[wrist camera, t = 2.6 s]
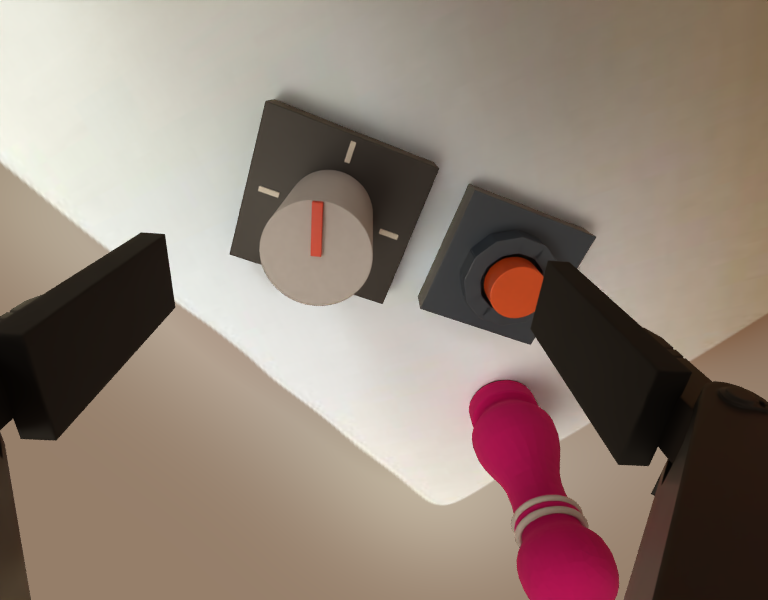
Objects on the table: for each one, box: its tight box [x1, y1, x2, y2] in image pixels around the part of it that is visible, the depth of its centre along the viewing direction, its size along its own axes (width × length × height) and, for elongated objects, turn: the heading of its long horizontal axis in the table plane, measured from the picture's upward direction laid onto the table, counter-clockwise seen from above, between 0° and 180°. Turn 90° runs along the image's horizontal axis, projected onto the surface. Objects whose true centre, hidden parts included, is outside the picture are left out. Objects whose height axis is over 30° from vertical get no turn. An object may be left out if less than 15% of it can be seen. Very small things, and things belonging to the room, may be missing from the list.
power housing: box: [418, 184, 596, 345], centre depth 34 cm, size 10×10×4 cm
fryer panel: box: [230, 99, 439, 304], centre depth 32 cm, size 12×11×3 cm
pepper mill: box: [469, 380, 619, 600], centre depth 33 cm, size 7×7×20 cm
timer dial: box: [259, 170, 373, 306], centre depth 27 cm, size 6×6×9 cm
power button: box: [484, 257, 544, 318], centre depth 32 cm, size 4×4×2 cm
